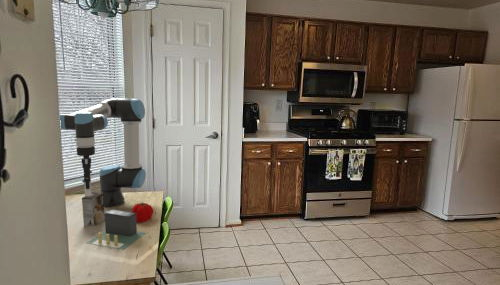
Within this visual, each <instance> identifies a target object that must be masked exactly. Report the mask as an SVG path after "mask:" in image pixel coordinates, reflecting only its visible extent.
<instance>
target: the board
mask: <svg viewBox="0 0 500 285" xmlns="http://www.w3.org/2000/svg"><path fill="white" fill-rule="evenodd" d="M146 234H147V232H143V231H138V230H137V232H136V233H135V234H134V235H132V236H131V237H130V236H124V235H117V234H111V233H106V232H105V231H104V232H98V233H97V236H95V237H93V238H91V239H90V240H88V241H86V244H87V245H88V244H89V245H94V246H98V247H99V246H100V247H103V248H104V247H105V248H111V249H117V250H122V251H123V250H125V249H127V248H128V247H130V246H131V245H132V244H134V243H136V242H137V241H138V240H139V239H140V238H142V237H143V236H145V235H146Z"/></svg>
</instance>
